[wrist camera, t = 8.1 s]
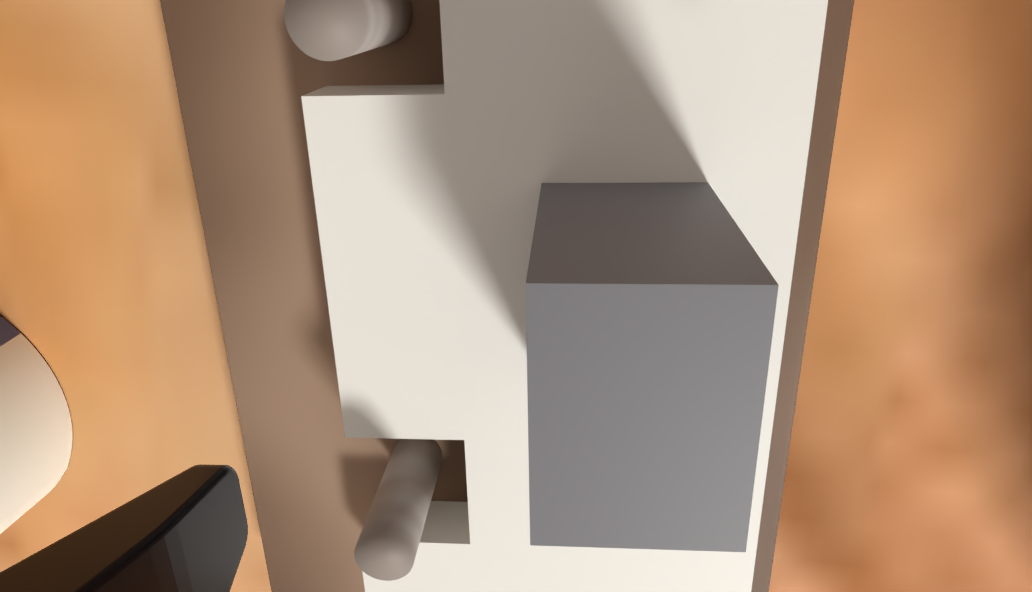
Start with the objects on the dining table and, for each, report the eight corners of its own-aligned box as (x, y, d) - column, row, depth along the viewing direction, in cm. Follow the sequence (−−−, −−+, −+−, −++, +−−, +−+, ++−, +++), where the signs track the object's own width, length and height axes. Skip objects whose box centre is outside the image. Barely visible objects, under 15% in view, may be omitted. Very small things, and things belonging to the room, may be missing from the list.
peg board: (867, -369, 13) (1056, -596, 8) (743, 596, 21) (795, 785, 16) (152, -331, 14) (-87, -512, 9) (303, 579, 22) (224, 753, 17)
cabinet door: (825, -195, 12) (1062, -366, 6) (735, 561, 18) (814, 837, 12) (296, -174, 13) (61, -310, 7) (380, 549, 19) (292, 806, 13)
